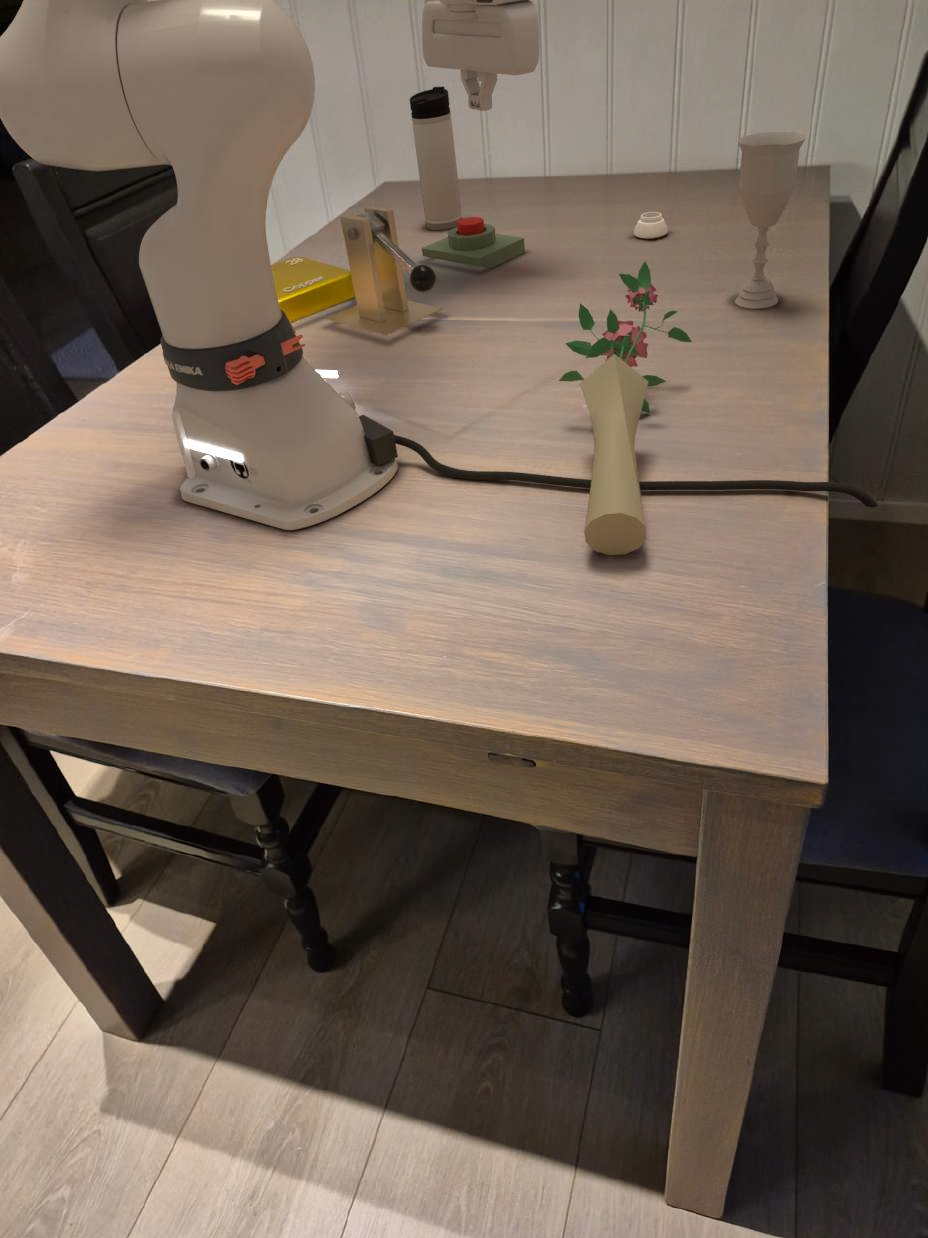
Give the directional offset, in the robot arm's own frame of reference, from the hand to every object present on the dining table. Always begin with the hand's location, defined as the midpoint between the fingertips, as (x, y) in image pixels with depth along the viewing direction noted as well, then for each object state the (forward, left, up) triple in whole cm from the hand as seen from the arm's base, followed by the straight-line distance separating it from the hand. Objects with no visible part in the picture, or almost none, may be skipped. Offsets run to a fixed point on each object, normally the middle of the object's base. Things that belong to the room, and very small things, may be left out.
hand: (480, 109), depth 119 cm
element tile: (+15, +27, -21) cm, 37 cm away
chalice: (-41, -3, -21) cm, 46 cm away
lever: (-6, +24, -12) cm, 28 cm away
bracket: (-2, +24, -20) cm, 32 cm away
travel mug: (+22, -12, -21) cm, 32 cm away
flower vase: (-49, +37, -21) cm, 65 cm away
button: (+5, -1, -17) cm, 17 cm away
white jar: (-14, -20, -21) cm, 32 cm away
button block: (+5, -1, -20) cm, 21 cm away
